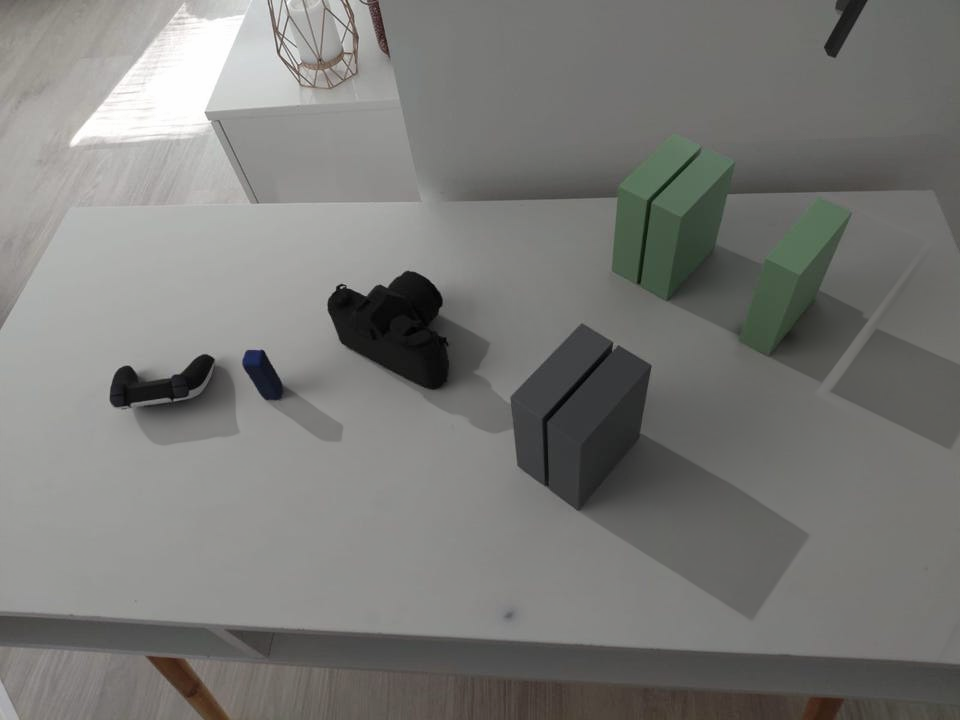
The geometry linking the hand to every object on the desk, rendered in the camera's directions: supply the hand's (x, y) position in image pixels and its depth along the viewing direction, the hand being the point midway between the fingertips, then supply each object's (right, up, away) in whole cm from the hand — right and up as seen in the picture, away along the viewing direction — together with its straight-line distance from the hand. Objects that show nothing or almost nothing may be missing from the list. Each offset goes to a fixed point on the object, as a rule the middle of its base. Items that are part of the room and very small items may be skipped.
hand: (902, 79), depth 67 cm
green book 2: (-14, -14, +21) cm, 29 cm away
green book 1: (-17, -12, +22) cm, 31 cm away
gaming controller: (-72, -28, +17) cm, 79 cm away
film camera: (-45, -23, +18) cm, 54 cm away
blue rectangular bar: (-60, -28, +16) cm, 68 cm away
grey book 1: (-29, -33, +9) cm, 45 cm away
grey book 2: (-26, -35, +8) cm, 44 cm away
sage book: (-5, -20, +15) cm, 26 cm away
